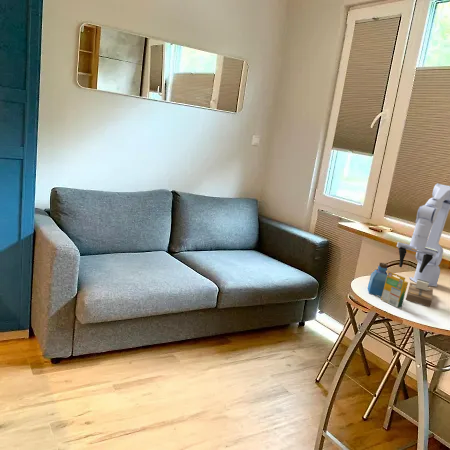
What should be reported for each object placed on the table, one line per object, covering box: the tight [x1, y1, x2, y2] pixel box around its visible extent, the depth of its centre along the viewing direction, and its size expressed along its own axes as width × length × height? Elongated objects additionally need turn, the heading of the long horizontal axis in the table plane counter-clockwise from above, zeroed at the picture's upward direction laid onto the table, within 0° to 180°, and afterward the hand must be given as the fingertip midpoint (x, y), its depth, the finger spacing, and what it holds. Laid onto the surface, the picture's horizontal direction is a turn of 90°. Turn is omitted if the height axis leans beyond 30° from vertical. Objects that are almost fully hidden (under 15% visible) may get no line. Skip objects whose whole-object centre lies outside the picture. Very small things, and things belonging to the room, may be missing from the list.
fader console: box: [405, 281, 434, 308], centre depth 183 cm, size 18×9×3 cm, turn 154°
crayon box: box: [380, 270, 409, 309], centre depth 169 cm, size 7×3×12 cm, turn 36°
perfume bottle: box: [367, 262, 388, 297], centre depth 178 cm, size 6×6×12 cm
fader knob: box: [415, 279, 429, 291], centre depth 186 cm, size 3×4×3 cm
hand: (410, 269), depth 181 cm, fingers open, 7 cm apart
